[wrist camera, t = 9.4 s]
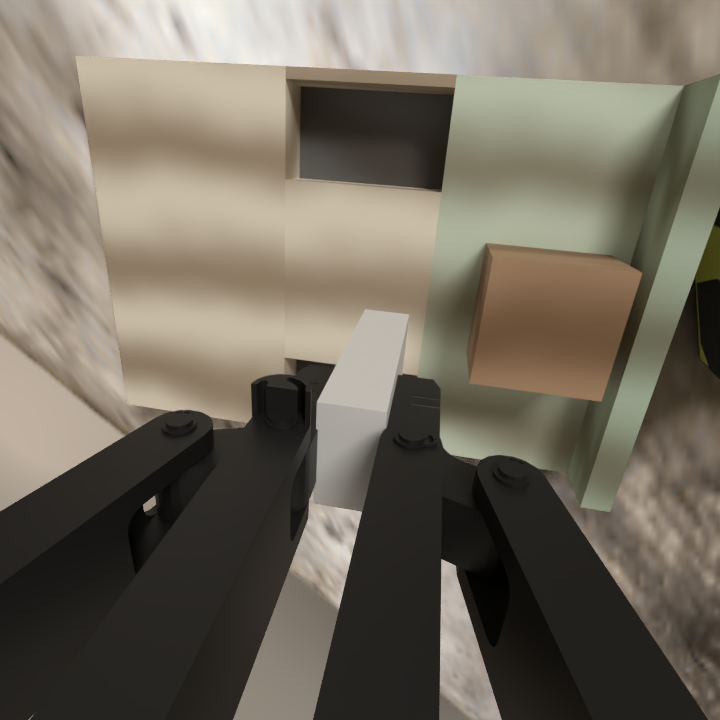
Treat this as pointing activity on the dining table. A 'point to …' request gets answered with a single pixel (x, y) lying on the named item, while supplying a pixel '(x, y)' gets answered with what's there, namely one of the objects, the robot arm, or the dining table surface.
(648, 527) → the dining table surface
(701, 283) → the cordless drill
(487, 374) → the walnut block
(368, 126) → the trap board
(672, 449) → the dining table surface
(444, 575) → the dining table surface
